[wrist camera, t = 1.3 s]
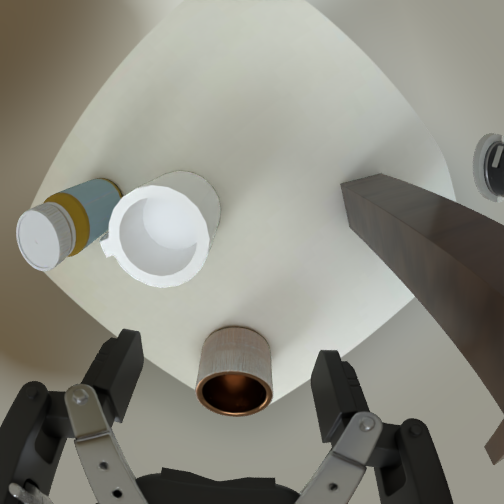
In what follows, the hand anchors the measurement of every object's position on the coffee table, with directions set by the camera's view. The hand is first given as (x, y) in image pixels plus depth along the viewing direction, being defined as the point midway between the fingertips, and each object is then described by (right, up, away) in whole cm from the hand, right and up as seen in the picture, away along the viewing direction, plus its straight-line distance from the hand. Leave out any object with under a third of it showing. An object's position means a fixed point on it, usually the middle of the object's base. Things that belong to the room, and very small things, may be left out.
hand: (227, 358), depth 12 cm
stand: (+16, +11, +23) cm, 30 cm away
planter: (-1, -11, +33) cm, 35 cm away
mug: (-9, +10, +24) cm, 27 cm away
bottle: (-19, +11, +23) cm, 32 cm away
